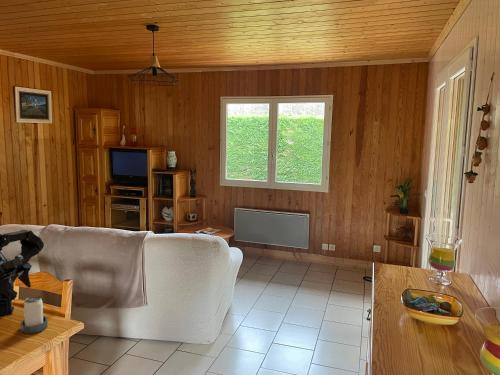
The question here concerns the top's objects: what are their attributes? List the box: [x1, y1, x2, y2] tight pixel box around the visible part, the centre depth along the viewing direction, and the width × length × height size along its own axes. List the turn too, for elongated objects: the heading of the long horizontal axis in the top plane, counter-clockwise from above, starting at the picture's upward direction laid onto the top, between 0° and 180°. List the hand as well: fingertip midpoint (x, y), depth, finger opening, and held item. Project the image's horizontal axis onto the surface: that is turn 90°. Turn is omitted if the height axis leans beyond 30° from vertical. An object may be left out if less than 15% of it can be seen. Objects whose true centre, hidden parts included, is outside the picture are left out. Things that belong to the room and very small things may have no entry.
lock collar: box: [20, 315, 48, 335], centre depth 151 cm, size 9×9×3 cm
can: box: [23, 295, 44, 326], centre depth 150 cm, size 6×6×12 cm
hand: (20, 291), depth 153 cm, fingers open, 9 cm apart
